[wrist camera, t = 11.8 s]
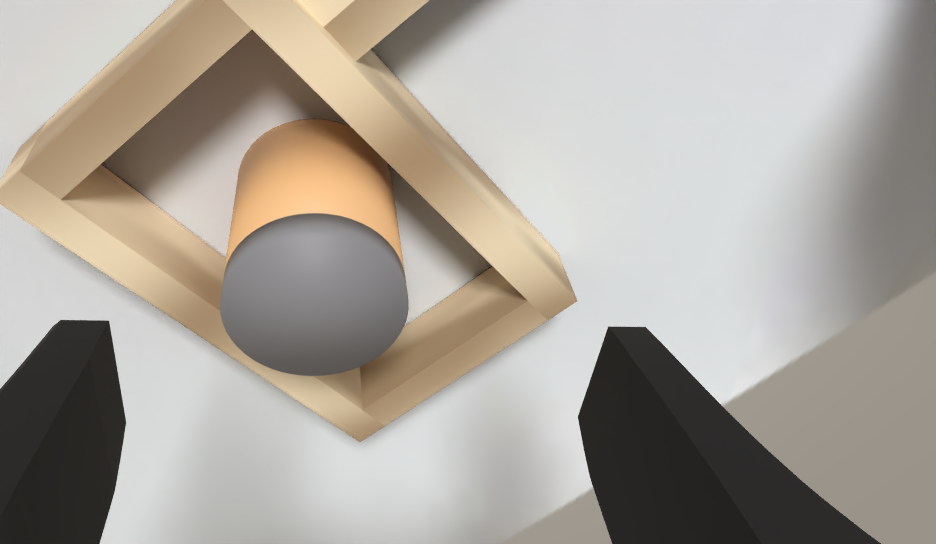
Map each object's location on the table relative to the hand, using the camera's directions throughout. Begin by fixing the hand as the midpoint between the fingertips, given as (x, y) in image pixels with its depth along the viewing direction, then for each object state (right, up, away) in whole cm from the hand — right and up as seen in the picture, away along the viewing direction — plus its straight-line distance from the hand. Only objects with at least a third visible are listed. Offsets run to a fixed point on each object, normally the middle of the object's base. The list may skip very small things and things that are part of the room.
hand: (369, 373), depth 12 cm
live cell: (-3, +4, +9) cm, 10 cm away
